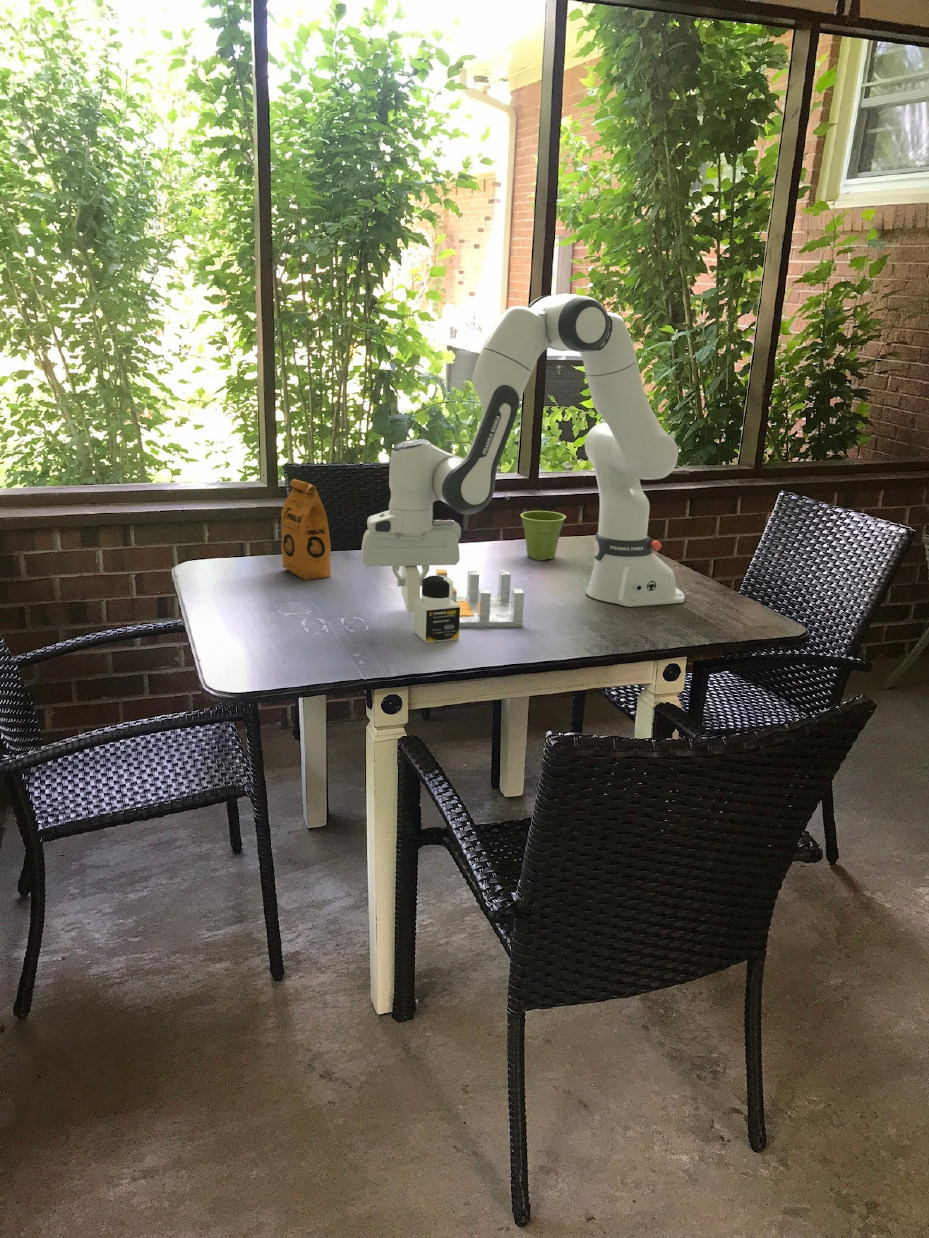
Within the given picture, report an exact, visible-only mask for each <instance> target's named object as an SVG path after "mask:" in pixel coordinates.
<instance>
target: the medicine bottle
mask: <svg viewBox="0 0 929 1238" xmlns="http://www.w3.org/2000/svg"><path fill="white" fill-rule="evenodd" d="M453 587H454V582H453V579H451V578H449V577H448V576H447V577H445V576H436V575H429V576H427V577H426V576H425V578H424V579H423V580H422V586H421V597H420V598H416V599H414V613H413V624H412V625H413V630H412V631H413V633H414V634H415V635H417V636H418V637H419V638H420V639H421V640H422V641H423V642H425V643H426V644H427V643H428V644H431V643H439V642H449V641H456V640H457V641H458V640H459V639H460V628H459V623H460V606H459V605H458V604H457V603H455V602H454V601H453V600H451V599H452V597H453Z"/></svg>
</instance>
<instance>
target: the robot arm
mask: <svg viewBox="0 0 929 1238" xmlns="http://www.w3.org/2000/svg"><path fill="white" fill-rule="evenodd" d="M547 349H551V350H555V351H559V352H565V351H566V352H569V351H571V352H572V351H574V352H578V353H579V354H580V356H581V358H582V361H583V367H584V371H585V376H586V380H587V385H588V388H589V393H590V397H591V401H592V405H593V407H594V409H595V411H596V412H597V413H598V414H599V416H601V418H602V419H603V420H604V421H605V422H601V423H598V424H595V425H594V426H593V427H591V429H590V430H589V431H588V433H587V435H586V437H585V440H584V450H585V454H586V457H587V458H588V460H589V461H590V462H591V466H592V467H593V470H594V473H595V478H596V482H597V489H598V496H599V511H598V512H599V513H598V529H597V530H598V531H597V532H596V534H595V540H594V546H593V555H594V562H593V567H592V572H591V575H590V579H589V583H588V586H587V587H586V590H585V593H586V595H587V596H589V597H590V598H593V599H595V600H598V601H601V602H602V601H603V602H607V603H611V604H617V605H620V606H623V607H629V608H630V607H643V606H644V607H645V606H656V605H668V604H670V605H671V604H681V603H684V602H685V594H684V592H682V590H680V589H679V588H678V587H677V586H676V585H677V583H676V576H675V573H674V571H673V570H672V569H671V567H670V566H668V564H666V563H665V562H664V561H663V560H662V559H661V558H659V557H658V556H657V555H656V554H655V553H654V551H656V552H657V551H660V549H662V544H661V542H660V541H658V540H656V539H655V540H654V539H652V538H651V537H650V536H648V528H649V526H648V525H649V517H650V507H651V506H650V500H649V499H648V497H647V496H646V494H645V492H644V491H643V489H642V485H641V480H646V481H647V480H661V479H664V478H666V477H667V476H669V475H670V474H671V473H672V472H673V471H674V469H675V468H676V465H677V463H678V458H679V449H678V445H677V443H676V441H675V440H674V439H673V438H672V437H671V436H670V435H669V434H668V433H667V432H666V430H665V429H664V427H663V426H662V425H661V424H660V422H659V420H658V418H657V416H656V415H655V413H654V411H653V408H652V407H651V404H650V403H649V400H648V397H647V395H646V392H645V389H644V384H643V381H642V377H641V373H640V367H639V364H638V359H637V355H636V351H635V346H634V343H633V340H632V338H631V334H630V333H629V330H628V327H627V325H626V322H625V320H624V319H623V318H622V316H620V315H619V314H617V313H614V312H610V311H609V312H608V311H607V310H606V308H605V307H604V305H602V303H600V302H599V301H598V300H597V299H595V298H593V297H590V296H588V295H587V296H586V295H578V294H574V293H573V294H571V293H561V294H546V295H542V296H539V297H538V298H536V299H534V300H533V301H531V302H530V303H529V304H528V306H524V305H523V306H522V305H515V306H510V307H509V308H507V309H506V310H505V311H504V312H503V314H502V315H501V316H500V318H499V319H498V321H497V322H496V323H495V325H494V327H493V329H492V330H491V332H490V333H489V336H488V337H487V339H486V341H485V343H484V345H483V347H482V349H481V351H480V354H478V355H479V356H478V358H477V360H476V363H475V365H474V370H473V373H472V378H471V381H472V386H473V389H474V391H475V394H476V395H477V397H478V400H479V402H480V405H481V416H480V421H479V424H478V427H477V429H476V432H475V434H474V437H473V439H472V442H471V444H470V447H469V450H468V453H467V454H466V455H465V457H461V456H459V455H455V454H452V453H450V452H447V451H445V450H443V449H440V448H439V447H437V446H436V445H433V443H431V442H430V441H429V440H428V439H424V438H418V439H417V438H416V439H414V438H413V439H408V440H404V441H401V442H399V443H397V444H396V445H395V446H394V447H393V448H392V451H391V453H390V460H389V471H388V472H389V474H388V475H389V476H388V480H389V481H388V485H389V489H390V500H389V504H388V510H385V511H381V512H379V513H376V514H373V515H370V516H368V517H367V521H366V524H367V528H368V529H366V530H365V532H364V533H363V537H362V543H361V554H360V556H361V563H362V564H363V566H365V567H366V568H367V567H368V568H369V567H391V571H392V572H393V575H394V576H395V577H396V580H397V581H396V584H397V587H401V586H405V583H404V582H405V578H404V576H401V575H400V573H399V572H400V567H401V566H417V567H418V566H419V567H420V566H421V570H422V571H421V572H420V587H422V580H423V579H424V578H426V576H427V574H428V573H429V572H430V566H457V564H458V563H459V562H460V557H461V556H460V546H459V540H460V539H461V536H462V527H461V525H460V523H458V522H456V521H455V520H453V519H452V520H451V519H447V520H442V519H433V504H434V502H437V501H442V502H443V503H445V504H446V505H448V506H449V507H450V508H452V510H454V511H455V512H457V513H458V514H461V515H474V514H477V513H480V512H481V511H483V510H484V509H485V508H486V507H487V506H488V505H490V502H491V501H492V499H493V497H494V494H495V490H496V489H495V488H496V480H497V479H496V477H497V471H498V466H499V463H500V462H501V458H502V456H503V454H504V450H505V449H506V445H507V443H508V440H509V436H510V434H511V432H512V429H513V427H514V423H515V420H516V418H517V415H518V411H519V407H520V404H521V403H520V402H521V399H522V397H523V394H524V391H525V389H526V387H527V384H528V382H529V380H530V377H531V376H532V373H533V371H534V369H535V367H536V365H537V362H538V359H539V358H540V356H541V355H542V354H543V352H544V351H546V350H547Z"/></svg>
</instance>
